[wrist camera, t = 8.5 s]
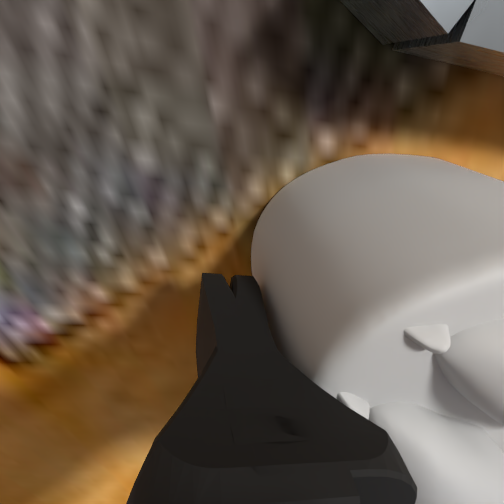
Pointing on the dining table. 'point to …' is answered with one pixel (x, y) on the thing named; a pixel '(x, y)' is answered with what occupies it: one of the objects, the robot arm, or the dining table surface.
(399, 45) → the bracket
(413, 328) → the lumpy-topped squat cylinder
